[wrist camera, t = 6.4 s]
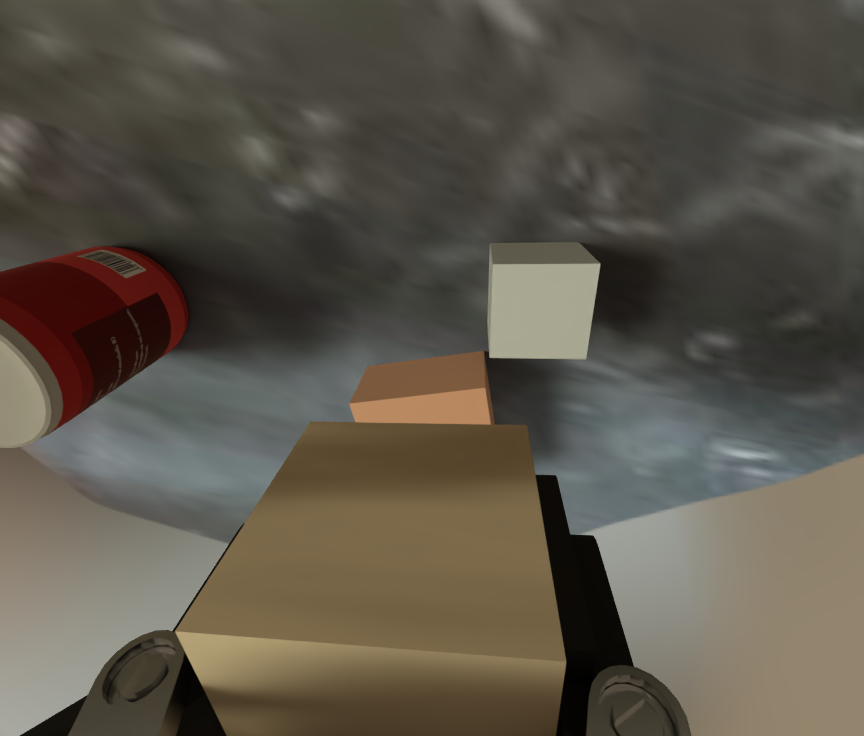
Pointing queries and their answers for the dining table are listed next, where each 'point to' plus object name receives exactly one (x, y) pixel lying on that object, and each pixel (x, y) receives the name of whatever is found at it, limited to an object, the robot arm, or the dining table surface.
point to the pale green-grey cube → (540, 300)
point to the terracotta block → (426, 392)
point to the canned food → (79, 334)
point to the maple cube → (387, 591)
